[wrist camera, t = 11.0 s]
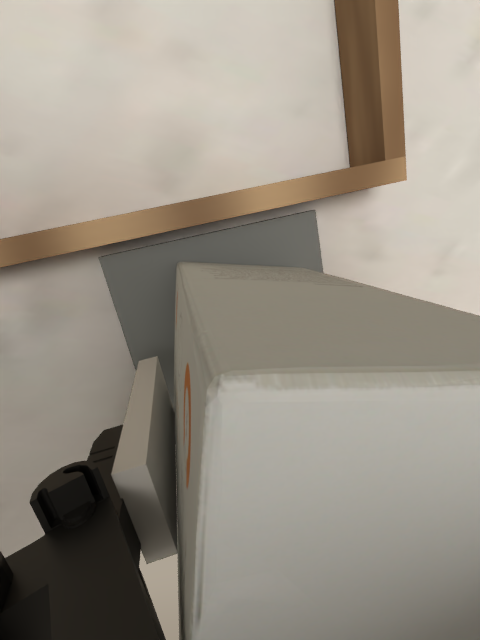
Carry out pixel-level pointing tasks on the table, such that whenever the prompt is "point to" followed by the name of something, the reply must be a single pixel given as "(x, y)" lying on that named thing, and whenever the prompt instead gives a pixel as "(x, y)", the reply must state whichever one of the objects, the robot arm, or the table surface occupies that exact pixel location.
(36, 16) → the table surface
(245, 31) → the table surface
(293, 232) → the mat
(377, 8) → the bin
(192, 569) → the small box
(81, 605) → the robot arm
